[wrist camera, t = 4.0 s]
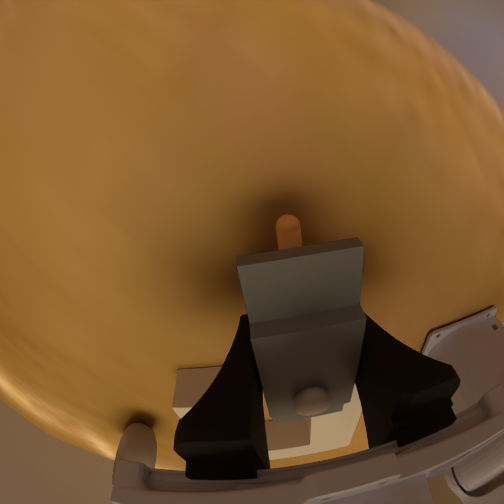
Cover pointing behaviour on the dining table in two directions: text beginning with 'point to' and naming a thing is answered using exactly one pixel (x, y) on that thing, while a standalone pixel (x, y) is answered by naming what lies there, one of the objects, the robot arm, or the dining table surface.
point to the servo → (305, 321)
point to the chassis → (284, 433)
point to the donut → (137, 446)
